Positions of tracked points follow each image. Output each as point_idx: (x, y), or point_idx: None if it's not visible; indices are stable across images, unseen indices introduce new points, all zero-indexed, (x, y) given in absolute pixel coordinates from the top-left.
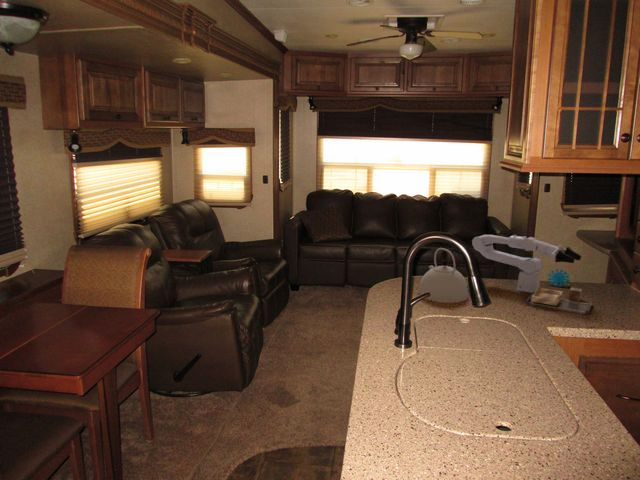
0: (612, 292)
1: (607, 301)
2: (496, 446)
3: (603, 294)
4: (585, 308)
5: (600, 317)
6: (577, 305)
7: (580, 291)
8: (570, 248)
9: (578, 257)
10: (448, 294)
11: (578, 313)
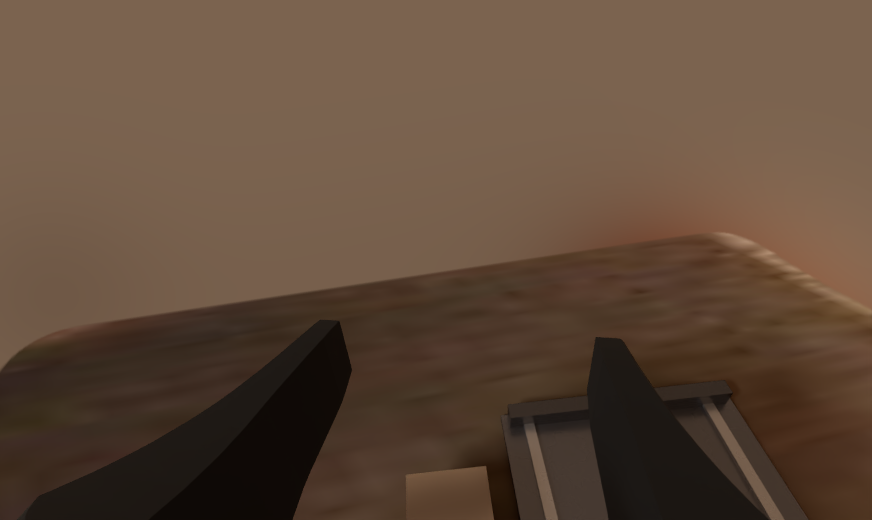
0: (177, 385)
1: (372, 370)
2: None
3: None
4: None
5: (685, 340)
6: None
7: (484, 467)
8: (73, 484)
9: (333, 366)
10: None
11: (753, 439)
